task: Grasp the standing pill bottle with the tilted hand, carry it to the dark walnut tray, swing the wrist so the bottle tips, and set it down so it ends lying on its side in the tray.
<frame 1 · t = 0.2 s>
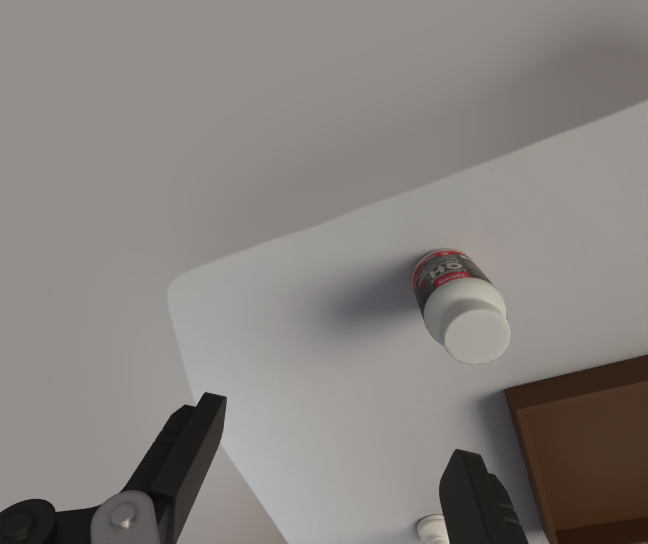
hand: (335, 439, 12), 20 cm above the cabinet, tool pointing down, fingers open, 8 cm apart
chess piece: (437, 526, 43), on the cabinet
tray: (609, 450, 36), on the cabinet
pill bottle: (442, 275, 31), on the cabinet
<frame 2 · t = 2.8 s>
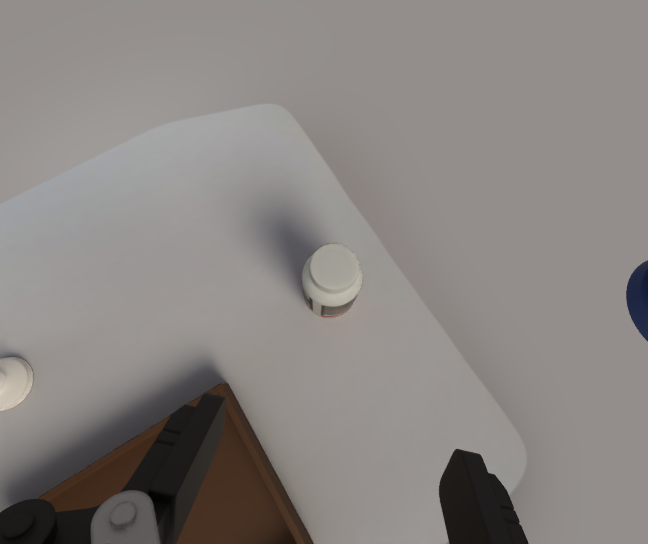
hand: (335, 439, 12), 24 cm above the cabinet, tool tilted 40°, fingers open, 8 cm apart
chess piece: (8, 383, 35), on the cabinet
tray: (164, 531, 32), on the cabinet
pill bottle: (329, 294, 38), on the cabinet
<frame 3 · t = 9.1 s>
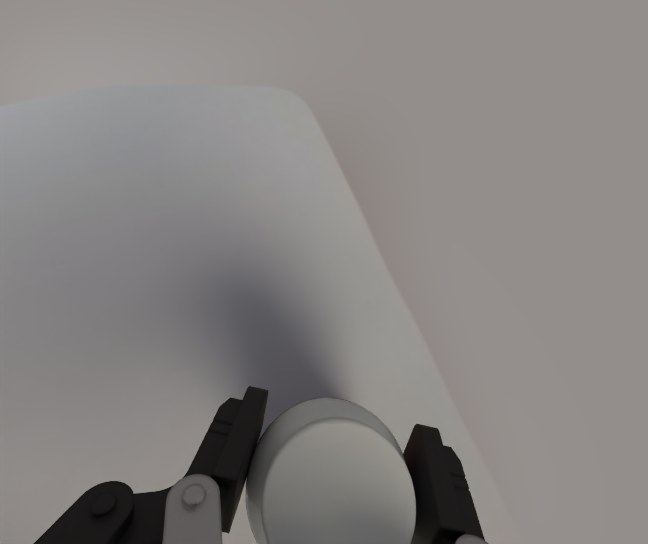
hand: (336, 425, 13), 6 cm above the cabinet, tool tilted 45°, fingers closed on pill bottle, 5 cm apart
pill bottle: (316, 459, 18), on the cabinet, touching gripper
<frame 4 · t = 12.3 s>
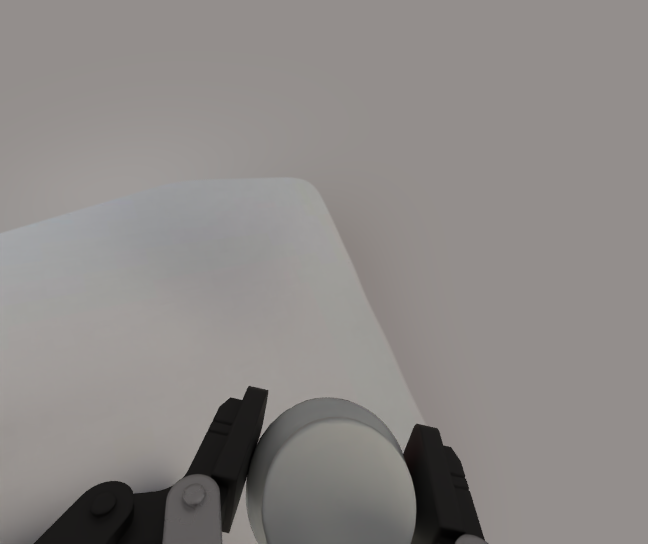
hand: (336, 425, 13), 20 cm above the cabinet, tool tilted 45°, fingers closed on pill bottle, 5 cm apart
pill bottle: (316, 459, 18), point 14 cm above the cabinet, touching gripper
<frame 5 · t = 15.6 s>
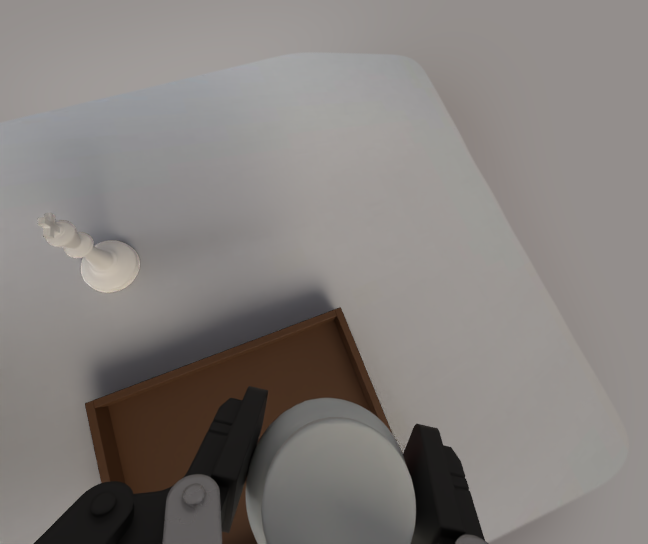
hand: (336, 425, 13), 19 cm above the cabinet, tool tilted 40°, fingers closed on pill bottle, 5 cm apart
chess piece: (113, 267, 33), on the cabinet
tray: (256, 446, 30), on the cabinet
pill bottle: (316, 459, 18), point 13 cm above the cabinet, touching gripper
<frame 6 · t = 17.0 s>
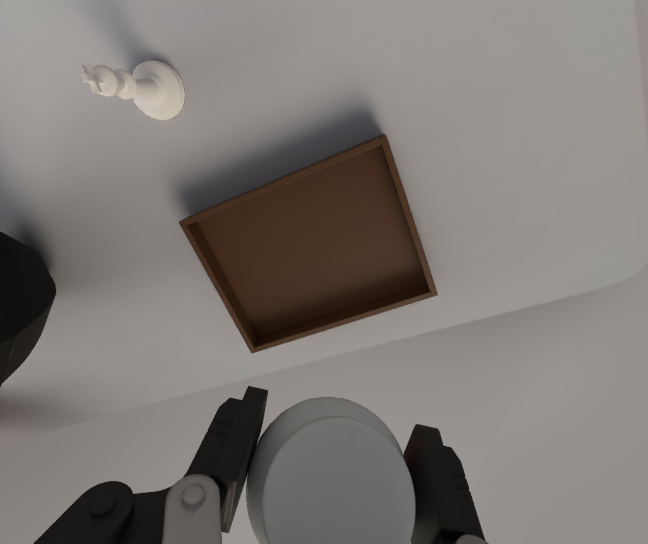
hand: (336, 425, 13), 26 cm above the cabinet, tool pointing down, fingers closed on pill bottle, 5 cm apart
chess piece: (160, 91, 33), on the cabinet
tray: (312, 250, 38), on the cabinet
pill bottle: (316, 458, 18), point 23 cm above the cabinet, touching gripper
table lamp: (29, 269, 42), on the cabinet
when the fingers open (6 cm above the cabinet, at t = 22.2 s): pill bottle moves 2 cm, resting on tray.
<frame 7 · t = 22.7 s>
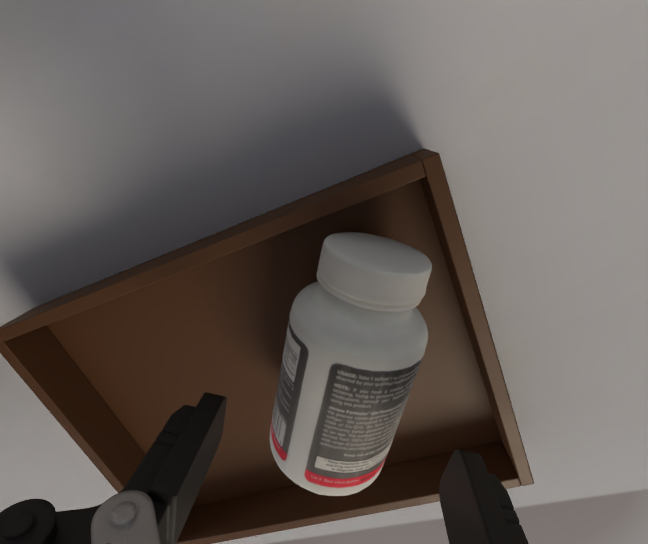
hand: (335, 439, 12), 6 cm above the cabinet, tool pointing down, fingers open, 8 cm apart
tray: (276, 372, 19), on the cabinet
pill bottle: (324, 447, 17), point 3 cm above the cabinet, touching tray
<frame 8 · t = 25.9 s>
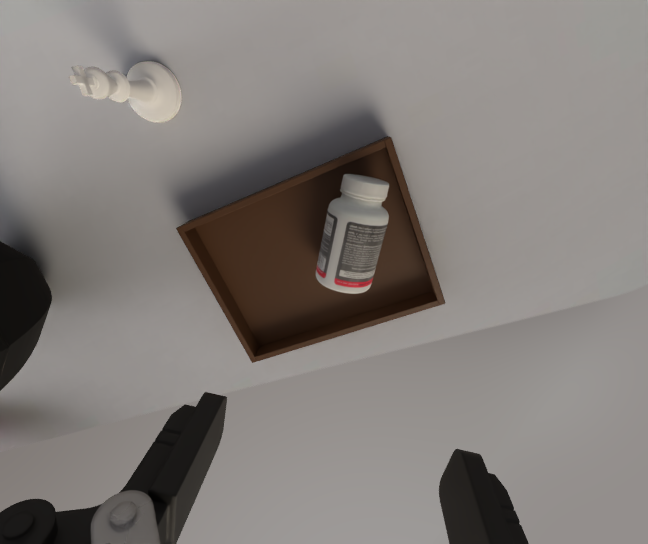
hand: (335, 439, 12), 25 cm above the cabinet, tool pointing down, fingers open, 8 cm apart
chess piece: (156, 93, 32), on the cabinet
tray: (314, 256, 37), on the cabinet
pill bottle: (341, 283, 34), point 3 cm above the cabinet, touching tray
table lamp: (25, 275, 41), on the cabinet
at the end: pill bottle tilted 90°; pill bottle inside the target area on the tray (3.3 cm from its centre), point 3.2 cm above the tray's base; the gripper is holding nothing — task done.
